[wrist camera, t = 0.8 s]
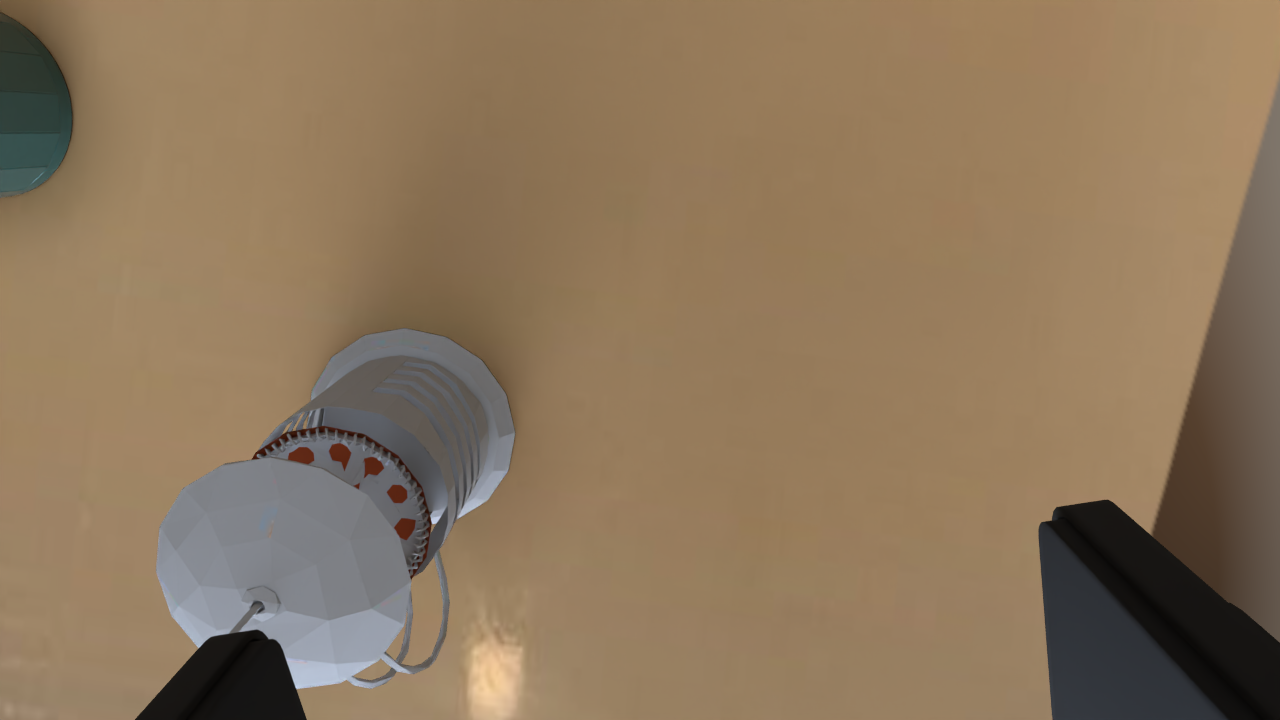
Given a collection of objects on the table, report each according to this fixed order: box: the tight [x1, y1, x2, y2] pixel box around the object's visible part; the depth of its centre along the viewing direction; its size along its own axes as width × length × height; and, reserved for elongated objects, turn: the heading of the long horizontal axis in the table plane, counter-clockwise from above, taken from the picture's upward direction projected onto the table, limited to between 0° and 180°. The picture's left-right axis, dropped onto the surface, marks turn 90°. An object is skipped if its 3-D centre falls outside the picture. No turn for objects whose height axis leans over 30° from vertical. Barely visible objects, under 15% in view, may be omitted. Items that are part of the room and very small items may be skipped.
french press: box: [156, 328, 515, 689], centre depth 29 cm, size 10×12×25 cm
